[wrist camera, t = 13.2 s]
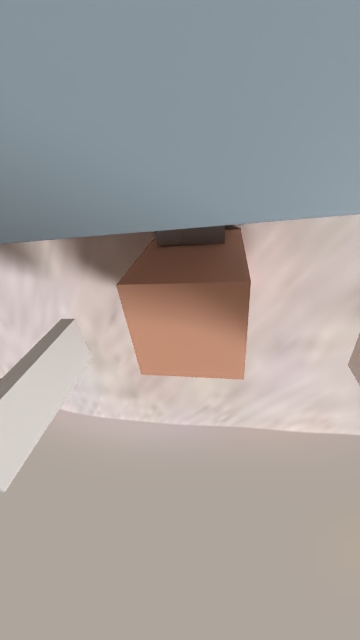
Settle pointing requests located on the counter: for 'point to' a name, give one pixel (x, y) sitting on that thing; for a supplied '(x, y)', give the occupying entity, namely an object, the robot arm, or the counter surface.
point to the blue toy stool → (176, 114)
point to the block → (189, 308)
